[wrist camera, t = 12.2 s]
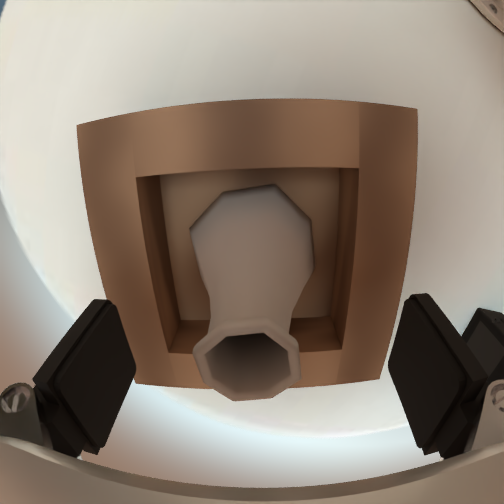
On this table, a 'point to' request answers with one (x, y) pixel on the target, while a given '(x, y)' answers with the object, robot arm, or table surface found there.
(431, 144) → the table surface
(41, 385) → the robot arm
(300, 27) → the table surface
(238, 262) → the flask
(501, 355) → the digital camera
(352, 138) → the condiment dock
